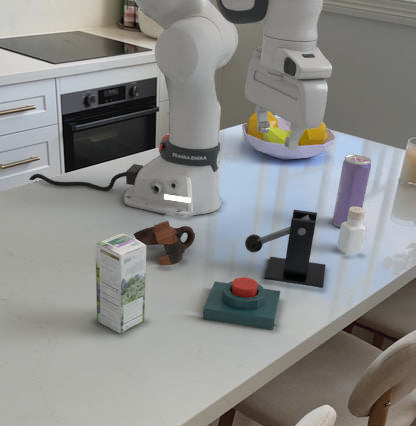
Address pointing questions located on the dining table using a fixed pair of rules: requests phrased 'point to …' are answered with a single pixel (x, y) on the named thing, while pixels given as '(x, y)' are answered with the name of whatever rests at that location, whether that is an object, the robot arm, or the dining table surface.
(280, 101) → the robot arm
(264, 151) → the fruit bowl
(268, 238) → the lever handle
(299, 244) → the lever stand
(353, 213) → the pepper shaker
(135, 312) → the syrup box
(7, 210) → the dining table surface
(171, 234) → the brown clay jug
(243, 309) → the teal base plate
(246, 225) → the dining table surface
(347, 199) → the beverage can
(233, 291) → the button
